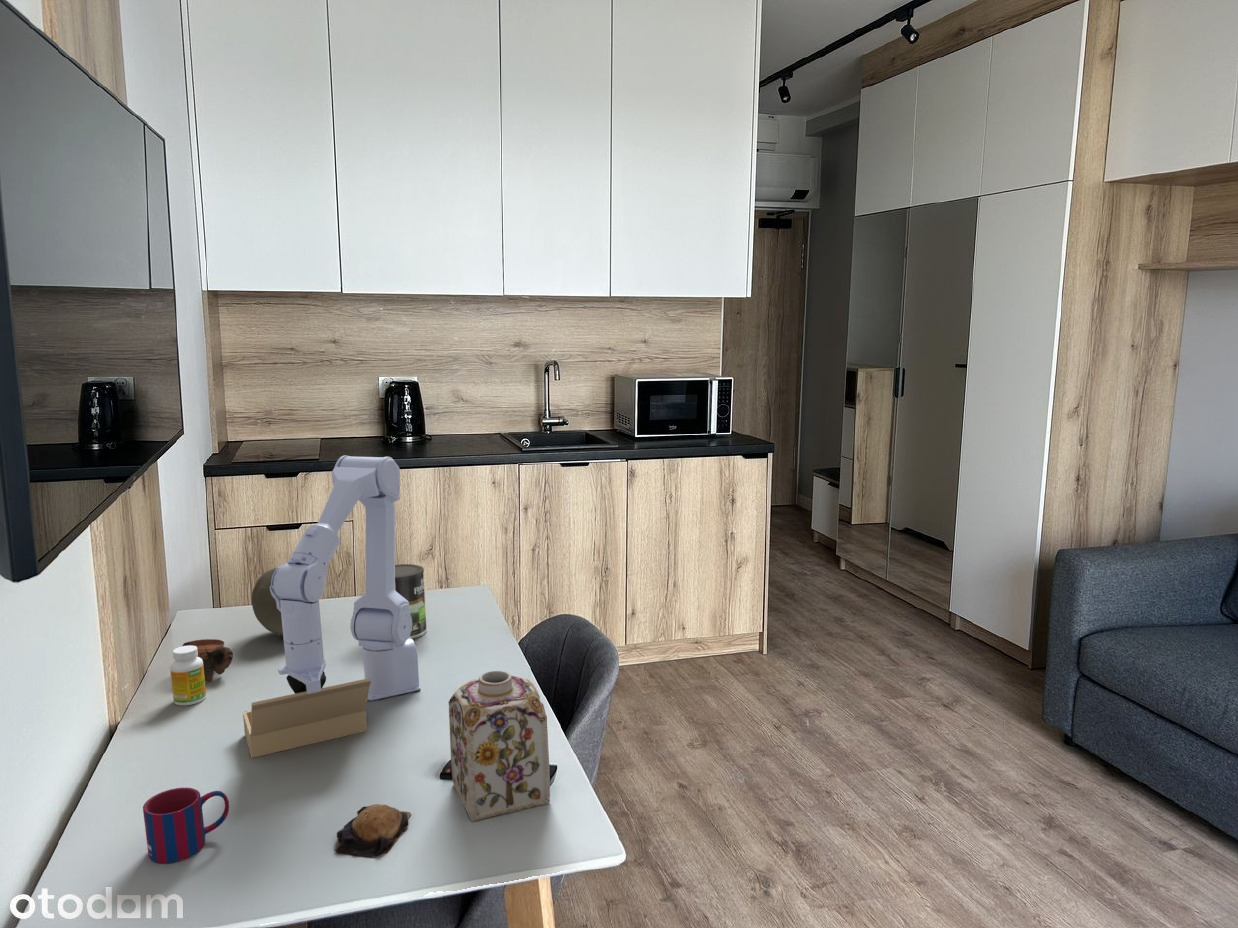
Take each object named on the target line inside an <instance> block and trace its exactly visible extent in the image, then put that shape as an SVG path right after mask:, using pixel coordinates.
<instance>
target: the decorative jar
mask: <svg viewBox="0 0 1238 928" xmlns="http://www.w3.org/2000/svg"><path fill="white" fill-rule="evenodd" d="M448 720H449V744H450V746H449V748H450V762H451V776H452V784H453V786H454V788H455V790H456V793H457V794H458V797H459V799H460V800H461V803H462V804H463V806H464V809H465V810H466V812H467V814H468V817H469V818H470V820H471V821H472V822H478V821H481V820H486V819H488V818H493V817H496V816H501V815H504V814H510V813H514V812H518V811H522V810H526V809H530V808H534V807H538V806H542V805H549V803H550V802H551V789H550V788H551V784H550V783H551V781H550V779H551V778H550V776H551V775H550V754H549V734H548V732H549V731H548V716H547V713H546V709H545V706H544V703H543V702H542V701H541V696H540V694H539V691H538V690H537V688H536V687H535V685H534V684H533V682H531V680H529V679H528V678H524V677H523V678H522V677H518V676H515V675H512V674H511V673H510V672H507V671H503V670H491V671H486V672H484V673H481V674H480V675H479V676H478V678H475V679H471V680H469V681H468V682H466V683H465V684H463V685H461V686H460V687H458V689H457V690H456V691H454V693H453V694H452V695H451V697H450V698H449V700H448Z"/></svg>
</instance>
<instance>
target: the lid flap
mask: <svg viewBox="0 0 1238 928" xmlns="http://www.w3.org/2000/svg"><path fill="white" fill-rule="evenodd" d="M370 683H371V680H370V678H368V679H365V678H364V679H359V680H354V681H350V682H345V683H339V684H335V685H331V686H325V687H323V688H321V691H320V692H315V693H311V694H307V691H306V692H301V693H296V694H295V693H293V694H287V695H283V696H277V697H272V698H268V699H263V700H259V701H254V702H253V701H252V702H251V710H250V711H251V736H254V735H259V734H263V733H268V732H272V731H277V730H281V729H285V728H290V727H294V726H299V725H303V724H308V723H312V722H316V721H321V720H325V719H330V718H334V717H339V716H343V715H348V714H352V713H356V712H361V711H365V709H366V707H367V702H368V698H367V697H368V692H369V687H370Z"/></svg>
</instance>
